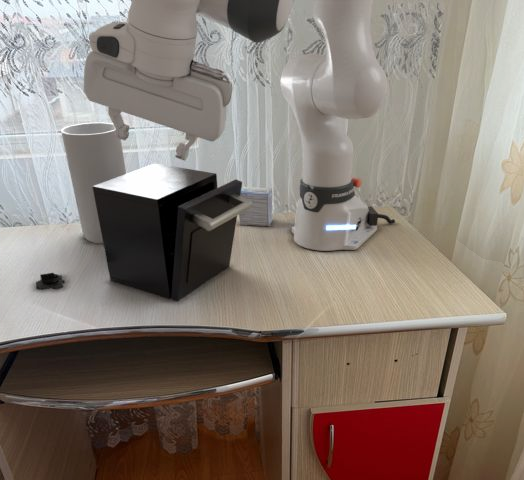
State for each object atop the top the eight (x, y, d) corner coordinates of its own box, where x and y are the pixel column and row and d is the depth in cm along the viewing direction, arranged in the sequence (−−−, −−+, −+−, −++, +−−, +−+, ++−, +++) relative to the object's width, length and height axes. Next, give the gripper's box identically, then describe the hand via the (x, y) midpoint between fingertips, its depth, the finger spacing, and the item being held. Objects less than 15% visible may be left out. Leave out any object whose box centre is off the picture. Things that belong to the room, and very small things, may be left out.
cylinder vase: (82, 247, 128) (59, 136, 114) (84, 228, 138) (63, 124, 124) (136, 241, 130) (119, 132, 116) (134, 223, 140) (118, 121, 126)
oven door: (245, 275, 116) (261, 190, 104) (194, 311, 104) (205, 219, 91) (223, 264, 118) (235, 179, 105) (170, 298, 105) (178, 206, 93)
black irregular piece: (33, 270, 112) (61, 265, 114) (36, 280, 114) (63, 275, 115) (34, 282, 108) (63, 277, 109) (37, 292, 109) (65, 287, 111)
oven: (222, 265, 118) (216, 173, 107) (170, 299, 106) (157, 199, 94) (165, 250, 125) (155, 163, 114) (110, 281, 113) (92, 186, 101)
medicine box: (272, 220, 140) (272, 187, 135) (269, 227, 137) (268, 193, 132) (243, 218, 142) (242, 186, 137) (239, 225, 138) (237, 191, 133)
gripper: (241, 68, 74) (223, 160, 83) (98, 20, 73) (97, 118, 83) (229, 82, 69) (211, 179, 79) (77, 31, 69) (78, 134, 79)
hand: (151, 147), depth 81 cm, fingers open, 8 cm apart
